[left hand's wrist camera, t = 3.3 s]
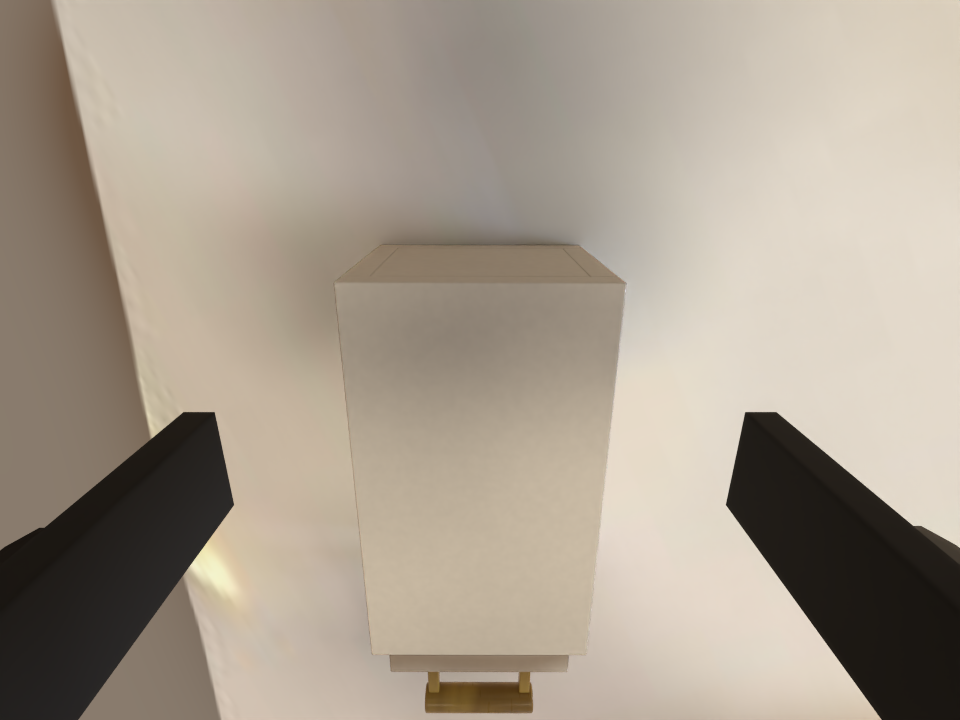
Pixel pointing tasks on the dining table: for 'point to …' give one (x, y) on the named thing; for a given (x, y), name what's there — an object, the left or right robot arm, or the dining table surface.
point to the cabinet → (479, 441)
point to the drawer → (479, 693)
